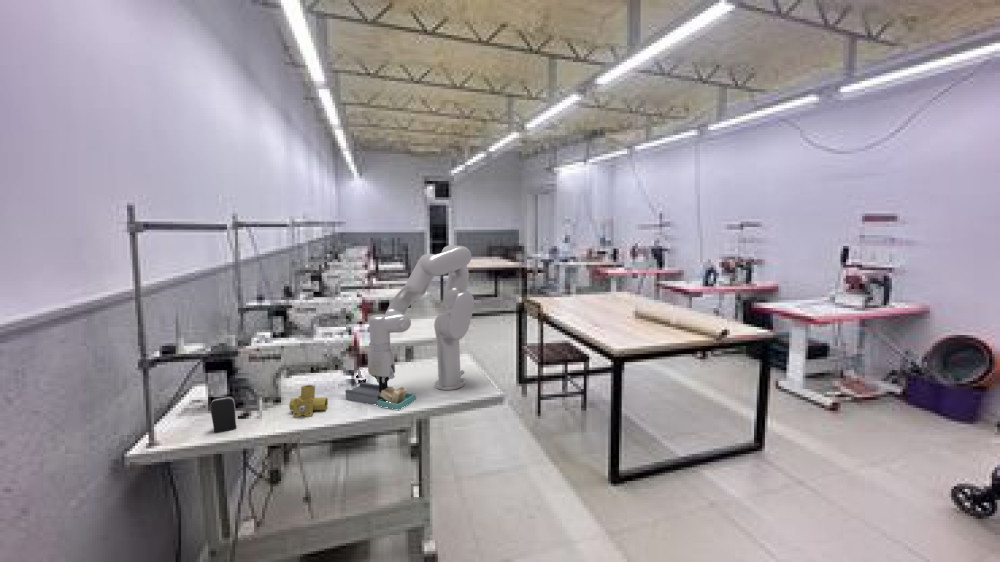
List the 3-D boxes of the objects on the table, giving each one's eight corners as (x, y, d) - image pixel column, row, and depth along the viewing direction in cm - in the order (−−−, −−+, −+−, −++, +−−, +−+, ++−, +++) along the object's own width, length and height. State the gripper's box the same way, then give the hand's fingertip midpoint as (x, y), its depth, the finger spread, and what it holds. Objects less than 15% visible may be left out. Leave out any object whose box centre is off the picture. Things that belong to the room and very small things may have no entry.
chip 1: (388, 391, 175) (390, 386, 174) (398, 397, 173) (399, 392, 173) (380, 396, 171) (381, 390, 170) (389, 402, 169) (391, 396, 168)
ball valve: (293, 411, 168) (284, 419, 158) (294, 384, 168) (284, 390, 158) (328, 411, 170) (320, 418, 160) (328, 384, 170) (321, 390, 160)
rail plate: (362, 391, 185) (361, 382, 184) (393, 396, 178) (392, 387, 178) (346, 399, 176) (345, 390, 176) (378, 405, 170) (377, 395, 169)
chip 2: (402, 386, 172) (406, 389, 171) (399, 397, 174) (403, 400, 173) (393, 391, 168) (398, 394, 167) (390, 402, 169) (395, 405, 168)
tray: (395, 396, 179) (395, 390, 178) (416, 399, 175) (415, 394, 174) (377, 406, 169) (377, 401, 168) (399, 410, 165) (398, 404, 164)
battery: (238, 424, 156) (234, 393, 154) (236, 429, 152) (233, 397, 151) (214, 429, 153) (211, 397, 151) (213, 433, 149) (209, 401, 148)
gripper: (358, 347, 171) (362, 392, 173) (390, 350, 165) (393, 397, 167) (371, 342, 178) (374, 385, 180) (402, 345, 172) (404, 390, 174)
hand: (383, 391), depth 174 cm, fingers closed
